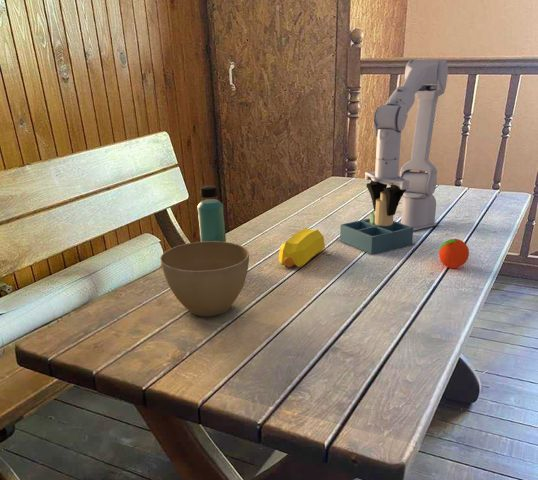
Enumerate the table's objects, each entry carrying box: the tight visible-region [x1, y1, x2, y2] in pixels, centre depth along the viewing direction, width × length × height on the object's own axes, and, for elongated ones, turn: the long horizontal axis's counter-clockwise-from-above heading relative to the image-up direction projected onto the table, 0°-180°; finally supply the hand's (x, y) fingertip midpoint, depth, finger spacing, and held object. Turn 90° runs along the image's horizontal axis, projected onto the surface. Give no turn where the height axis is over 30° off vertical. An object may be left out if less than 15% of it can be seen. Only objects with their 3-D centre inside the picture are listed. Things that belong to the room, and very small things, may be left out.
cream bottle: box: [375, 191, 394, 226], centre depth 148 cm, size 4×5×8 cm
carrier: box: [339, 217, 414, 255], centre depth 158 cm, size 14×14×5 cm
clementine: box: [438, 238, 470, 269], centre depth 139 cm, size 8×7×7 cm
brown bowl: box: [160, 241, 250, 317], centre depth 122 cm, size 18×18×12 cm
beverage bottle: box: [196, 185, 227, 242], centre depth 142 cm, size 6×7×20 cm
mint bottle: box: [369, 210, 378, 226], centre depth 161 cm, size 4×5×8 cm
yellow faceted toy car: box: [278, 227, 326, 269], centre depth 148 cm, size 18×7×8 cm
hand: (384, 212), depth 149 cm, fingers closed on cream bottle, 4 cm apart
